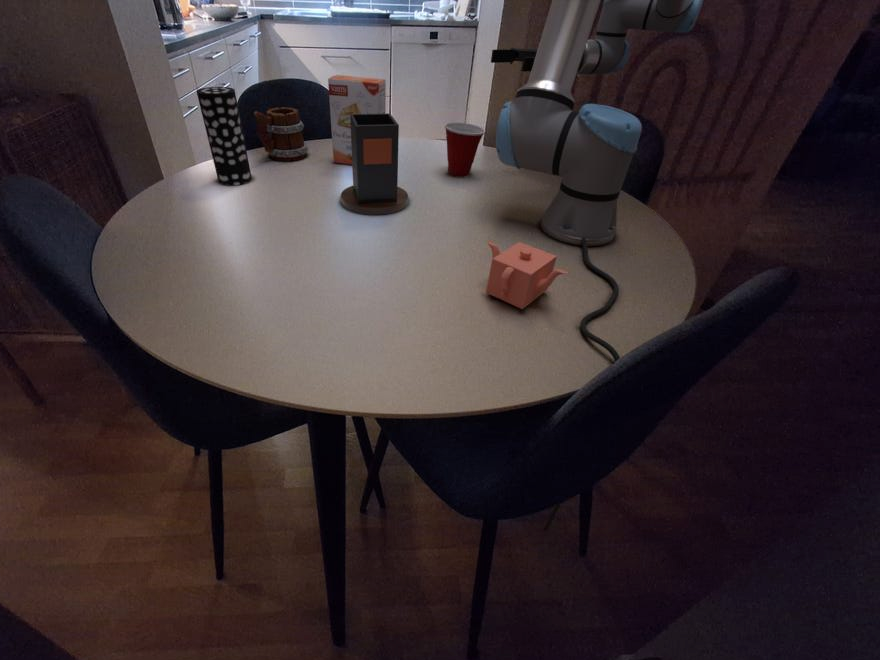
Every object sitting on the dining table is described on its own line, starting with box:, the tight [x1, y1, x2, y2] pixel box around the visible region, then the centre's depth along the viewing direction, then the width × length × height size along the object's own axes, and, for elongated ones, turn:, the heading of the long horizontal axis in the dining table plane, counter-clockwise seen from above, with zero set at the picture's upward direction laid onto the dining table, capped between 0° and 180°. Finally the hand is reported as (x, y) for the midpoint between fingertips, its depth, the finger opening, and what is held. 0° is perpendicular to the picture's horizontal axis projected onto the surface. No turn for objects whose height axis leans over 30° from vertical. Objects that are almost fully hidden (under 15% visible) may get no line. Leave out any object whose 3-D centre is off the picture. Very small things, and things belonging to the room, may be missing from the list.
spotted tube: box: [195, 86, 253, 186], centre depth 106 cm, size 8×8×20 cm
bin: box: [350, 113, 400, 203], centre depth 98 cm, size 9×10×16 cm
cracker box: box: [327, 74, 387, 166], centre depth 118 cm, size 14×6×21 cm, turn 73°
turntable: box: [340, 185, 409, 216], centre depth 104 cm, size 16×16×2 cm
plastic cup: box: [444, 121, 486, 178], centre depth 117 cm, size 11×11×12 cm
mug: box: [253, 106, 309, 162], centre depth 123 cm, size 12×14×15 cm
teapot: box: [485, 240, 569, 310], centre depth 72 cm, size 12×15×8 cm
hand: (507, 60), depth 106 cm, fingers open, 13 cm apart
